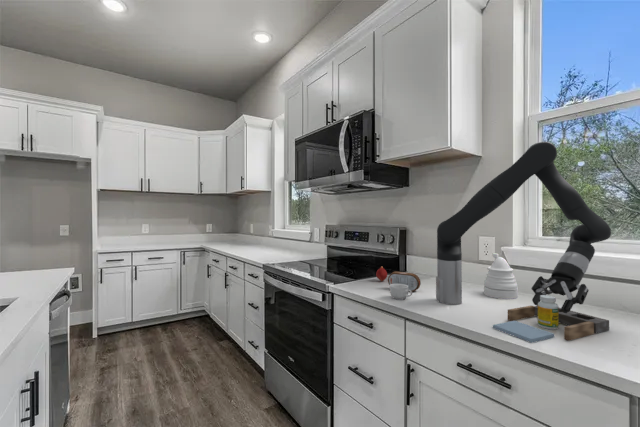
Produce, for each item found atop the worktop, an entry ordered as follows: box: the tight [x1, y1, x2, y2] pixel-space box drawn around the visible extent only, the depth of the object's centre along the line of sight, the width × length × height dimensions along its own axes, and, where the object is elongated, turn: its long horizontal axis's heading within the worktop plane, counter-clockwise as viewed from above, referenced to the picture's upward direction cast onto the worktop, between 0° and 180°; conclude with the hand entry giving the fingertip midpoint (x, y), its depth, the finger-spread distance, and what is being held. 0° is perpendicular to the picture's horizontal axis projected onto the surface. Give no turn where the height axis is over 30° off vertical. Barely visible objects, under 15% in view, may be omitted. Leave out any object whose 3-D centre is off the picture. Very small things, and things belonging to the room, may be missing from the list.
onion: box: [375, 266, 388, 282], centre depth 164 cm, size 6×6×8 cm
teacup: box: [389, 284, 413, 301], centre depth 131 cm, size 10×8×5 cm
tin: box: [387, 270, 422, 292], centre depth 145 cm, size 15×3×8 cm, turn 58°
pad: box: [492, 320, 555, 344], centre depth 93 cm, size 10×12×1 cm
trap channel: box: [507, 305, 610, 342], centre depth 100 cm, size 20×18×4 cm
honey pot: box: [483, 252, 519, 300], centre depth 136 cm, size 13×13×18 cm
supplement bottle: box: [537, 294, 560, 330], centre depth 98 cm, size 5×5×10 cm
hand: (548, 307), depth 98 cm, fingers open, 8 cm apart
